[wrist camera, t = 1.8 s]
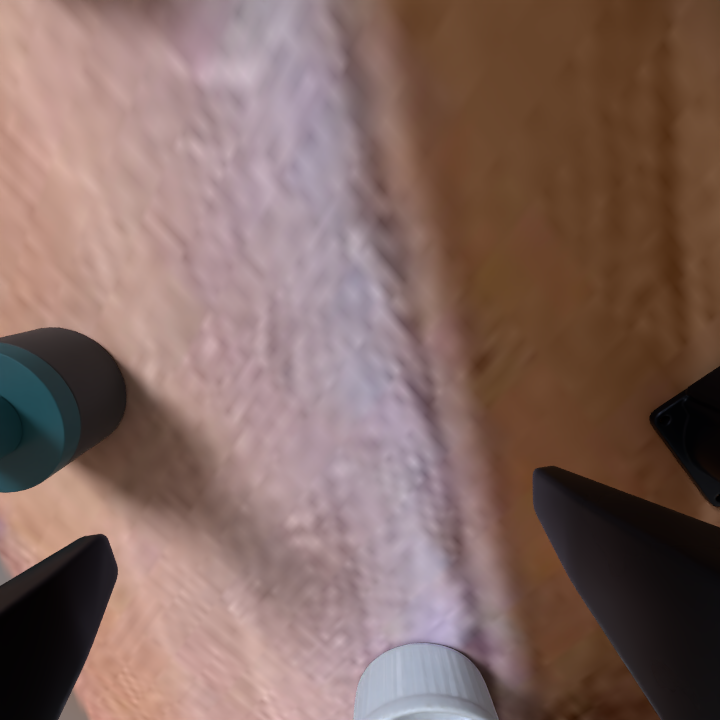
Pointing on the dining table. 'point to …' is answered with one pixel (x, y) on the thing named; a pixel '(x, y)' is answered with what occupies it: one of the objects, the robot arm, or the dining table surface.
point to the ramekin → (423, 686)
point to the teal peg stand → (53, 403)
